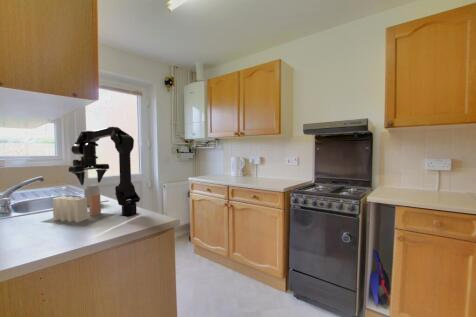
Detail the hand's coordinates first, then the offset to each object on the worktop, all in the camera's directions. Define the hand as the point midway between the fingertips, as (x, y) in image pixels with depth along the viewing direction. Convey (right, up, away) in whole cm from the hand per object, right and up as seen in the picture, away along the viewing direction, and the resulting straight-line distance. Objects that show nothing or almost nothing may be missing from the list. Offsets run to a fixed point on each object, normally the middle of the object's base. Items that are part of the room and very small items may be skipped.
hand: (90, 183), depth 123 cm
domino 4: (+7, -15, -18) cm, 25 cm away
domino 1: (-4, -15, -16) cm, 22 cm away
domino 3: (+4, -15, -17) cm, 23 cm away
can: (-6, -14, +10) cm, 18 cm away
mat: (+4, -15, -14) cm, 21 cm away
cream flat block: (0, -15, -17) cm, 22 cm away
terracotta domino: (+8, -14, -10) cm, 19 cm away
